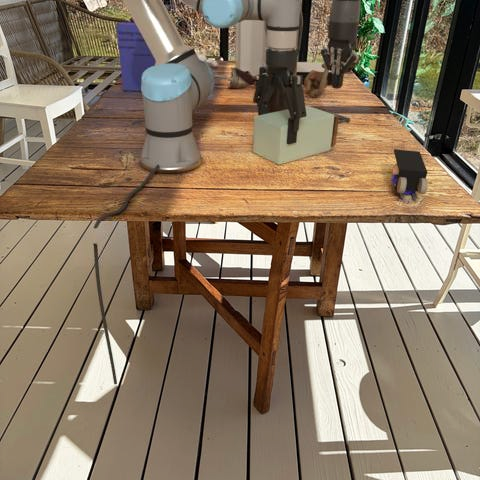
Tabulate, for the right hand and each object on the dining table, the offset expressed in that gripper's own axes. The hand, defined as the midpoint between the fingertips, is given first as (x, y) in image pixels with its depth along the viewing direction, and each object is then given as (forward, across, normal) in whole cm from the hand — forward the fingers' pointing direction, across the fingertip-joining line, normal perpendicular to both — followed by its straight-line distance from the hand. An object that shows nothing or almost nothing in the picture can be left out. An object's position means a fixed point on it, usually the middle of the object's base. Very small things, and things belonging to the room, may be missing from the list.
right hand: (336, 87), depth 132 cm
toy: (+15, +111, -18) cm, 114 cm away
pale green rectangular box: (+15, 0, +15) cm, 21 cm away
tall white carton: (+15, +86, -38) cm, 95 cm away
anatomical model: (+15, +42, -34) cm, 56 cm away
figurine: (+15, +64, -18) cm, 68 cm away
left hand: (+10, 0, +21) cm, 23 cm away
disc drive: (+15, +62, -51) cm, 81 cm away
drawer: (+14, 0, +9) cm, 17 cm away
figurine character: (+15, -34, +10) cm, 39 cm away
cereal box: (+15, +83, +17) cm, 86 cm away
